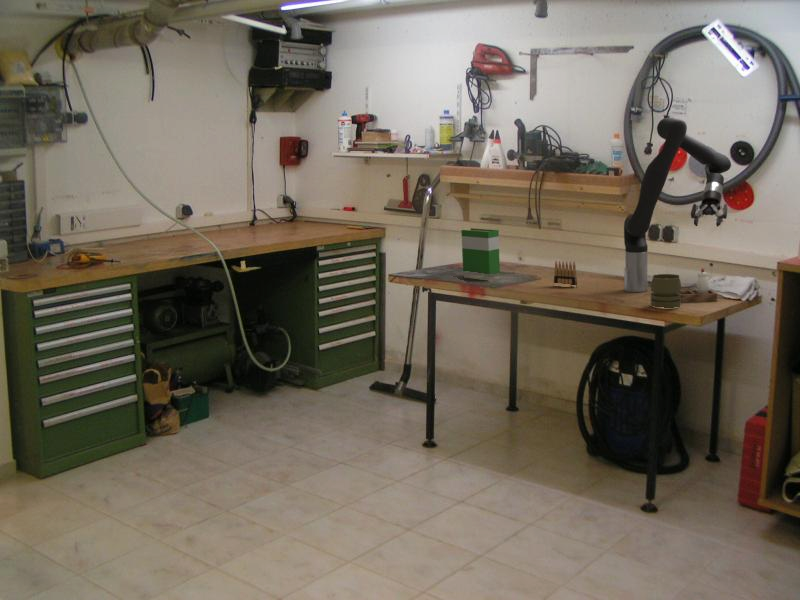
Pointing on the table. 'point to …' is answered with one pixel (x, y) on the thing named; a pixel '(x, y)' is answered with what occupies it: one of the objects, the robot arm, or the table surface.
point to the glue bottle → (702, 282)
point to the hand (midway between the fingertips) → (706, 225)
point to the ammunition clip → (565, 273)
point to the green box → (481, 251)
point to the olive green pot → (666, 291)
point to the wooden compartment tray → (697, 296)
